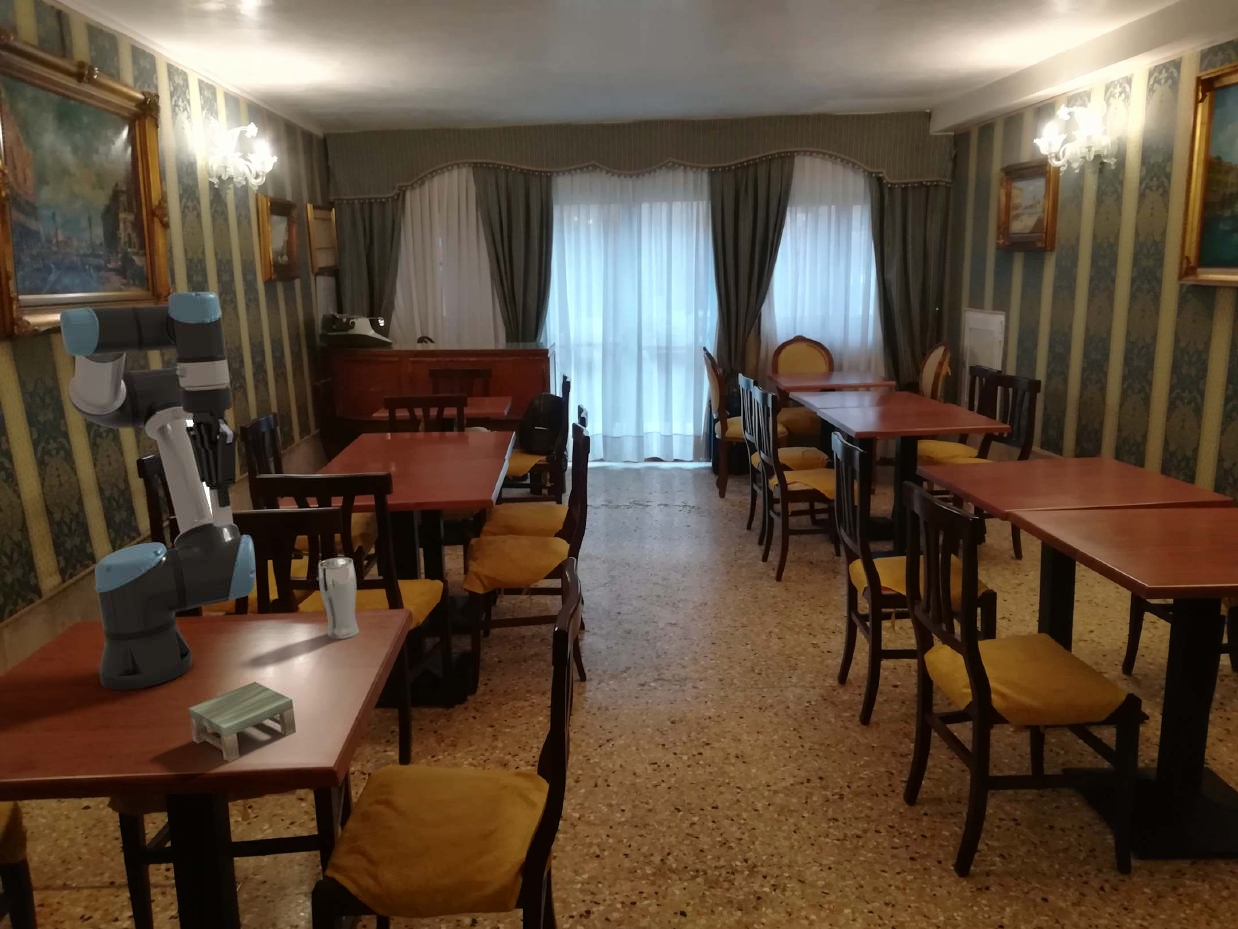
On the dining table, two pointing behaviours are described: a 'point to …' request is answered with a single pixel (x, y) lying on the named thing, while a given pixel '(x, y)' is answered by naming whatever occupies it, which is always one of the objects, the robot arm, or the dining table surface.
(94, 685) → the dining table surface
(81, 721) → the dining table surface
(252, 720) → the footstool
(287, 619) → the dining table surface
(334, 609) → the beer glass
